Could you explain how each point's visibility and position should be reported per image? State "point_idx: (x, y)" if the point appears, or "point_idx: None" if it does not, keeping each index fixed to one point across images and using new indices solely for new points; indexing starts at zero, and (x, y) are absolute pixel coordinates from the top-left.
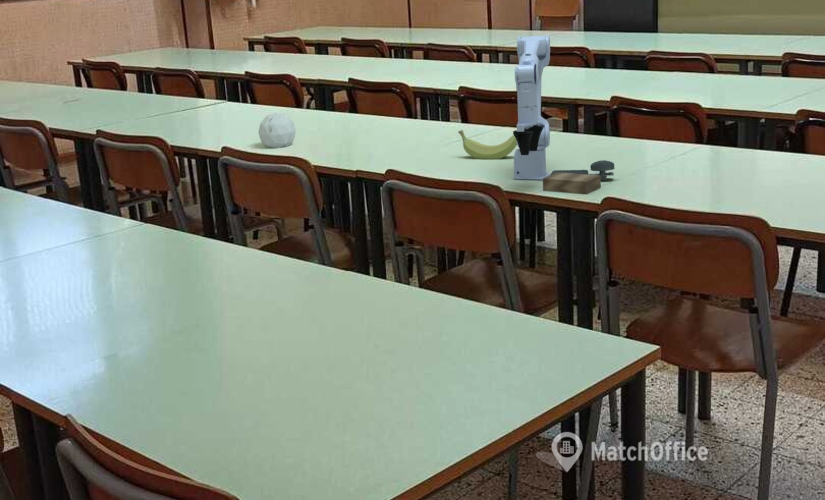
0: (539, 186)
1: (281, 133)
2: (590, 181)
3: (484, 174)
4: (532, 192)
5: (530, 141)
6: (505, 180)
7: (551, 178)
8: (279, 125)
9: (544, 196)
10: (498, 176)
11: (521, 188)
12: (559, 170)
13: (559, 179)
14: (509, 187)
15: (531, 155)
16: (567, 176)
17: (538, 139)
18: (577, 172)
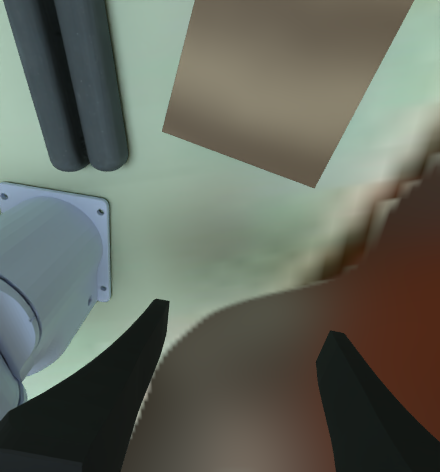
0: (221, 196)
1: None
2: None
3: (54, 375)
4: (333, 208)
5: (143, 383)
6: (127, 318)
7: (324, 141)
8: None
9: (427, 147)
10: (72, 341)
11: (255, 256)
12: (53, 134)
13: (362, 88)
14: (236, 294)
15: (52, 302)
16: (280, 47)
17: (129, 350)
18: (78, 11)
